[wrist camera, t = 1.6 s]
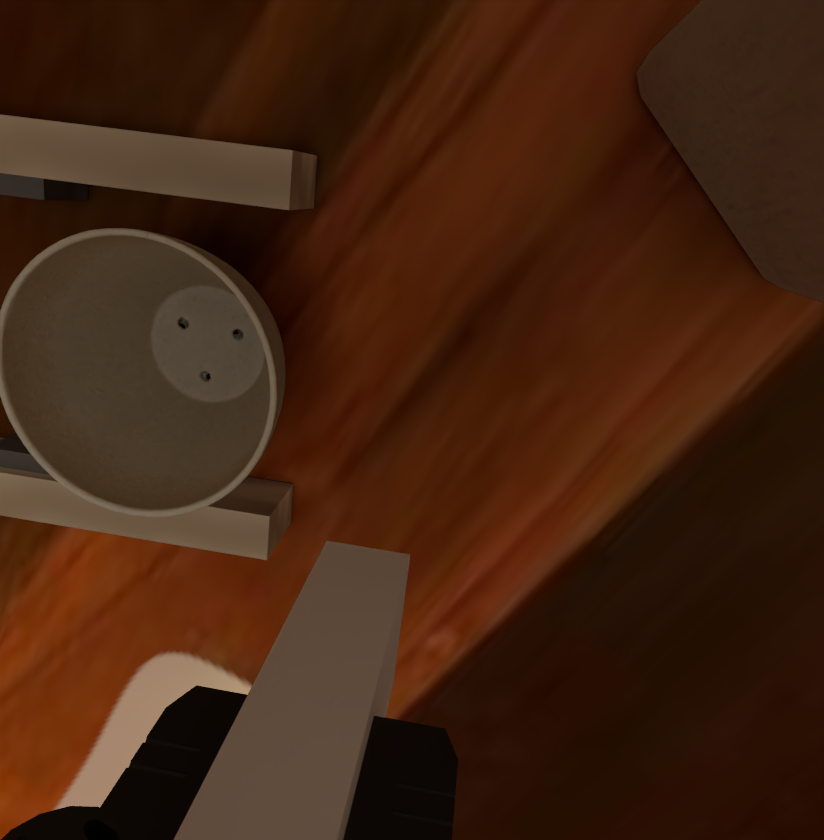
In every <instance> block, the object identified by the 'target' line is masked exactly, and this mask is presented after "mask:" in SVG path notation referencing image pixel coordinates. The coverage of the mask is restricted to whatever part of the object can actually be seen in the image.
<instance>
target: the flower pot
mask: <svg viewBox="0 0 824 840" xmlns="http://www.w3.org/2000/svg"><path fill="white" fill-rule="evenodd" d="M179 323H182V324H184V325H185V327H186V328H182V327H181V326H180V325H179ZM236 329H239V330H240V333H239V334H234V333H233V332H234V331H235V330H236ZM208 373H209V374H210V379H208V377H207V375H208ZM285 376H286V369H285V355H284V349H283V344H282V340H281V336H280V333H279V330H278V327H277V324H276V322H275V320H274V317H273V316H272V314H271V312H270V310H269V308H268V306H267V305H266V303H265V302H264V300H263V299H262V297H261V296H260V295H259V293H258V292H257V291H256V290H255V289H254V287H253V286H252V285H251V284H250V283H249V282H248V281H247V280H246V279H245V278H244V277H243V276H242V275H241V274H240V273H239V272H237V271H236V270H235V269H234V268H232V267H231V266H230V265H229V264H227V263H226V262H224V261H223V260H221V259H220V258H218V257H216V256H214V255H213V254H211V253H209V252H207V251H205V250H203V249H201V248H199V247H197V246H195V245H192V244H190V243H187V242H185V241H182V240H179V239H176V238H173V237H170V236H166V235H163V234H159V233H154V232H150V231H143V230H137V229H128V228H105V229H96V230H89V231H85V232H82V233H78V234H75V235H72V236H69V237H67V238H65V239H62V240H60V241H58V242H57V243H55V244H53V245H51V246H50V247H48V248H47V249H45V250H44V251H42V252H41V253H40V254H38V255H37V256H36V257H35V258H34V259H33V260H31V261H30V263H29V264H28V265H27V266H26V267H25V268H24V269H23V270H22V272H21V273H20V274H19V275H18V277H17V278H16V280H15V281H14V282H13V284H12V286H11V287H10V289H9V291H8V293H7V295H6V297H5V299H4V302H3V304H2V308H1V311H0V397H1V400H2V403H3V405H4V408H5V410H6V413H7V416H8V418H9V420H10V422H11V424H12V426H13V428H14V430H15V432H16V433H17V435H18V436H19V438H20V439H21V441H22V443H23V444H24V446H25V447H26V448H27V450H28V451H29V452H30V454H31V455H32V456H33V457H34V459H35V460H36V461H37V462H38V463H39V464H40V465H41V466H42V467H43V468H44V469H45V470H46V471H47V472H48V473H49V474H50V475H51V476H52V477H53V478H54V479H55V480H57V481H58V482H59V483H60V484H62V485H63V486H64V487H66V488H67V489H69V490H70V491H72V492H73V493H74V494H76V495H78V496H79V497H81V498H83V499H85V500H87V501H89V502H91V503H93V504H95V505H98V506H100V507H103V508H106V509H108V510H111V511H114V512H118V513H122V514H128V515H132V516H138V517H171V516H177V515H182V514H186V513H190V512H193V511H197V510H199V509H202V508H204V507H207V506H209V505H211V504H213V503H215V502H216V501H218V500H220V499H222V498H223V497H224V496H226V495H227V494H229V493H230V492H231V491H232V490H234V489H235V488H236V487H237V486H238V485H239V484H240V483H241V482H242V481H243V480H244V479H245V478H246V477H247V476H248V475H249V473H250V472H251V471H252V469H253V468H254V466H255V465H256V464H257V462H258V461H259V459H260V457H261V456H262V454H263V453H264V451H265V450H266V448H267V446H268V444H269V442H270V439H271V437H272V435H273V432H274V430H275V427H276V424H277V421H278V418H279V415H280V412H281V407H282V403H283V397H284V391H285Z"/></svg>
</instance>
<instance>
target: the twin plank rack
mask: <svg viewBox="0 0 824 840" xmlns="http://www.w3.org/2000/svg"><path fill="white" fill-rule="evenodd" d="M316 168H317V155H312V154H307V153H303V152H298V151H293V150H286V149H278V148H269V147H261V146H253V145H245V144H237V143H229V142H220V141H212V140H204V139H196V138H188V137H180V136H171V135H163V134H155V133H147V132H139V131H131V130H122V129H114V128H106V127H98V126H90V125H82V124H73V123H65V122H57V121H49V120H41V119H32V118H24V117H16V116H8V115H0V194H1V195H9V196H16V197H24V198H32V199H39V200H88V184H90V185H98V186H105V187H113V188H121V189H128V190H136V191H144V192H152V193H159V194H167V195H175V196H183V197H190V198H198V199H206V200H214V201H221V202H229V203H237V204H245V205H252V206H260V207H268V208H276V209H283V210H299V209H314V195H315V181H316ZM292 496H293V484H292V483H285V482H279V481H273V480H266V479H260V478H254V477H248V476H247V477H246V478H245V479H244V480H243V481H242V482H241V483H240V484H239V485H238V486H237V487H236V488H235V489H234V490H232V491H231V492H230V493H229V494H227V495H226V496H224V497H223V498H222V499H220V500H218V501H216V502H215V503H213V504H211V505H209V506H207V507H204V508H202V509H199V510H197V511H193V512H190V513H186V514H182V515H177V516H171V517H138V516H132V515H128V514H122V513H118V512H114V511H111V510H108V509H106V508H103V507H100V506H98V505H95V504H93V503H91V502H89V501H87V500H85V499H83V498H81V497H79V496H78V495H76V494H74V493H73V492H72V491H70V490H69V489H67V488H66V487H64V486H63V485H62V484H60V483H59V482H58V481H57V480H55V479H54V478H53V477H52V476H51V475H50V474H49V473H48V472H47V471H46V470H45V469H44V468H43V467H42V466H41V465H40V464H39V463H38V462H37V461H36V460H35V459H34V457H33V456H32V455H31V454H30V452H29V451H28V450H27V448H26V447H25V446H24V444H23V443H22V441H21V439H20V438H19V436H18V435H17V433H15V434H13V435H11V436H9V437H7V438H3V437H0V515H2V516H8V517H14V518H20V519H26V520H32V521H38V522H43V523H49V524H55V525H61V526H67V527H73V528H79V529H85V530H91V531H97V532H103V533H109V534H115V535H121V536H126V537H132V538H138V539H144V540H150V541H156V542H162V543H168V544H174V545H180V546H186V547H192V548H198V549H204V550H210V551H215V552H221V553H227V554H233V555H239V556H245V557H251V558H257V559H263V560H267V559H268V558H269V556H270V555H271V553H272V551H273V550H274V548H275V547H276V545H277V544H278V542H279V541H280V539H281V538H282V536H283V534H284V533H285V531H286V530H287V528H288V527H289V525H290V524H291V510H292Z"/></svg>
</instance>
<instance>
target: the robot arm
mask: <svg viewBox="0 0 824 840" xmlns="http://www.w3.org/2000/svg"><path fill="white" fill-rule="evenodd" d="M409 560H410V554H404V553H398V552H392V551H386V550H380V549H374V548H367V547H361V546H355V545H349V544H343V543H337V542H331V541H326V543H325V545H324V547H323V549H322V551H321V553H320V555H319V557H318V559H317V561H316V563H315V565H314V567H313V569H312V570H311V572H310V574H309V576H308V578H307V580H306V582H305V584H304V586H303V588H302V590H301V592H300V594H299V596H298V598H297V600H296V602H295V604H294V606H293V608H292V610H291V612H290V613H289V615H288V617H287V619H286V621H285V623H284V625H283V627H282V629H281V631H280V633H279V635H278V637H277V639H276V641H275V643H274V645H273V647H272V649H271V651H270V653H269V654H268V656H267V658H266V660H265V662H264V664H263V666H262V668H261V670H260V672H259V674H258V676H257V678H256V680H255V682H254V684H253V686H252V688H251V690H250V692H249V694H248V695H245V694H240V693H234V692H229V691H223V690H218V689H213V688H207V687H201V686H195V687H194V688H192V689H191V690H190V691H188V692H187V693H186V694H184V695H183V696H181V697H180V698H179V699H177V700H176V701H175V702H173V703H172V704H170V705H169V706H168V707H166V708H165V710H164V711H163V713H162V715H161V716H160V718H159V719H158V721H157V722H156V724H155V725H154V727H153V728H152V730H151V731H150V733H149V734H148V736H147V739H146V742H145V743H142V745H141V746H140V748H139V750H138V751H137V753H136V754H135V755H134V757H133V759H132V760H131V763H130V766H129V768H126V769H125V771H124V772H123V774H122V775H121V777H120V778H119V780H118V781H117V783H116V785H115V786H114V787H113V789H112V791H111V792H110V793H109V795H108V796H107V798H106V800H105V801H104V803H103V804H102V806H101V807H100V808H99V807H82V806H79V807H78V806H69V807H66V808H61V809H57V810H54V811H50V812H46V813H42V814H39V815H37V816H36V817H34V818H32V819H30V820H28V821H26V822H25V823H23V824H21V825H19V826H17V827H16V828H14V829H12V830H11V831H10V832H9V833H7V834H6V835H5V836H4V837H3V838H2V839H1V840H452V829H453V828H452V826H453V816H454V804H455V791H456V778H457V766H458V758H457V756H456V753H455V751H454V749H453V746H452V744H451V741H450V739H449V737H448V734H447V732H446V729H444V728H439V727H433V726H428V725H422V724H417V723H412V722H406V721H401V720H395V719H390V718H386V713H387V709H388V705H389V700H390V696H391V691H392V687H393V681H394V674H395V666H396V659H397V651H398V644H399V636H400V628H401V621H402V613H403V606H404V598H405V590H406V583H407V575H408V568H409Z"/></svg>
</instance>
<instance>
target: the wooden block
mask: <svg viewBox="0 0 824 840" xmlns="http://www.w3.org/2000/svg"><path fill="white" fill-rule="evenodd" d="M636 75H637V80H638V86H639V91H640V96H641V98H642V99H643V101H644V102H645V104H646V105H647V107H648V108H649V110H650V111H651V112H652V114H653V115H654V117H655V118H656V120H657V121H658V123H659V124H660V126H661V127H662V129H663V130H664V132H665V133H666V135H667V136H668V138H669V139H670V141H671V142H672V144H673V145H674V147H675V148H676V150H677V151H678V152H679V154H680V155H681V157H682V158H683V160H684V161H685V163H686V164H687V166H688V167H689V169H690V170H691V172H692V173H693V175H694V176H695V178H696V179H697V181H698V182H699V184H700V185H701V187H702V188H703V189H704V191H705V192H706V194H707V195H708V197H709V198H710V200H711V201H712V203H713V204H714V206H715V207H716V209H717V210H718V212H719V213H720V215H721V216H722V218H723V219H724V221H725V222H726V224H727V225H728V227H729V228H730V229H731V231H732V232H733V234H734V235H735V237H736V238H737V240H738V241H739V243H740V244H741V246H742V247H743V249H744V250H745V252H746V253H747V255H748V256H749V258H750V259H751V261H752V262H753V264H754V265H755V266H756V268H757V269H758V271H759V272H760V274H761V275H762V277H763V278H764V279H766V280H767V281H769V282H771V283H773V284H774V285H776V286H778V287H779V288H781V289H784V290H787V291H790V292H793V293H796V294H799V295H802V296H805V297H808V298H811V299H814V300H817V301H820V302H823V303H824V0H701V1H700V2H699V3H698V4H697V5H696V6H695V7H694V8H693V9H692V10H691V11H690V12H689V13H688V14H687V15H686V16H685V17H684V18H683V19H682V20H681V21H680V22H679V23H678V24H677V25H676V26H675V27H674V28H673V29H672V30H671V31H670V32H669V33H668V34H667V35H666V36H665V37H664V38H663V39H662V40H661V41H660V42H658V43H657V44H656V45H655V46H654V47H653V48H652V49H651V50H650V51H649V53H648V54H647V56H646V58H645V59H644V61H643V63H642V64H641V66H640V68H639V69H638V71H637V73H636Z"/></svg>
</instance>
